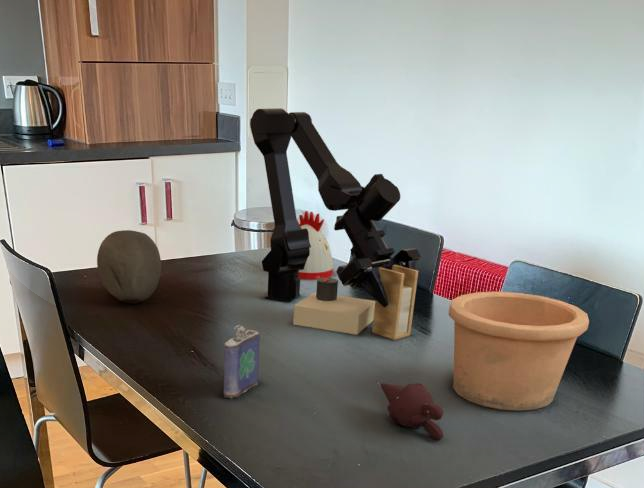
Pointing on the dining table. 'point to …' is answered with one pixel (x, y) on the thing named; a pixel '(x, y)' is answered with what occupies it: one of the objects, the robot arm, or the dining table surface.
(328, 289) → the dial
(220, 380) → the dining table surface
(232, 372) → the flask
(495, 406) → the pottery
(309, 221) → the kitchen timer
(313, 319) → the wooden block
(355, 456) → the dining table surface
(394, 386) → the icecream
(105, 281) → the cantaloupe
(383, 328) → the napkin holder
